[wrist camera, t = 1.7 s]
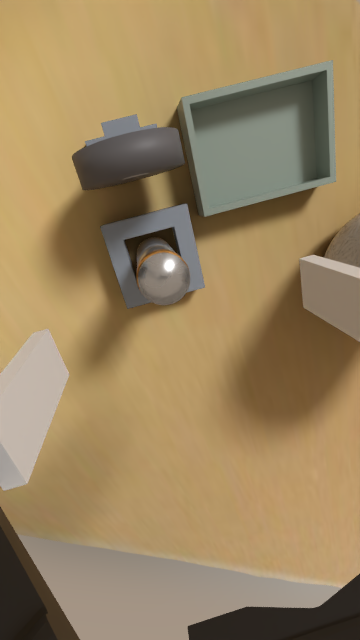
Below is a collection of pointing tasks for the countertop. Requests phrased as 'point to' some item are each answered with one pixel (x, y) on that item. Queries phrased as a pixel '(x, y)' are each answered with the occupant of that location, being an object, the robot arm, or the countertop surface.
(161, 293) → the pin
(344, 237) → the planter
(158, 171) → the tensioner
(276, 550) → the countertop surface
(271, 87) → the tray
